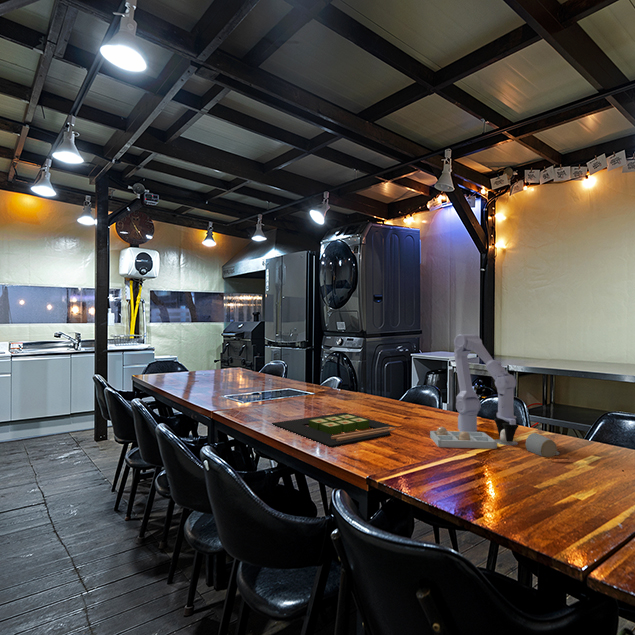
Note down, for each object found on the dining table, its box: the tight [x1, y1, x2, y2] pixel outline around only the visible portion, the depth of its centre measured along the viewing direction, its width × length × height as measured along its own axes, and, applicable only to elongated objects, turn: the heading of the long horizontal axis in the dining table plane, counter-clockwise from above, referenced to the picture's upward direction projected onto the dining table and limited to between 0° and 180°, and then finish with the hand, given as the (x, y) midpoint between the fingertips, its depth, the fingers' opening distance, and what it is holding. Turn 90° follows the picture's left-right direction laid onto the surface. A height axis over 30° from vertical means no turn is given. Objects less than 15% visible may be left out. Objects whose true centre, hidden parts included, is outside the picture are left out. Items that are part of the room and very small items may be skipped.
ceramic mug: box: [525, 432, 560, 458], centre depth 156 cm, size 11×8×8 cm
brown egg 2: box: [459, 431, 470, 440], centre depth 166 cm, size 4×4×5 cm
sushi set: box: [271, 412, 398, 448], centre depth 195 cm, size 45×45×4 cm
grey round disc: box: [494, 438, 519, 446], centre depth 170 cm, size 9×9×1 cm
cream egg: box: [499, 429, 511, 443], centre depth 171 cm, size 4×4×5 cm
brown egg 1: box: [436, 426, 448, 435], centre depth 173 cm, size 4×4×5 cm
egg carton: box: [429, 430, 498, 450], centre depth 169 cm, size 15×22×4 cm
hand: (505, 438), depth 170 cm, fingers open, 7 cm apart
